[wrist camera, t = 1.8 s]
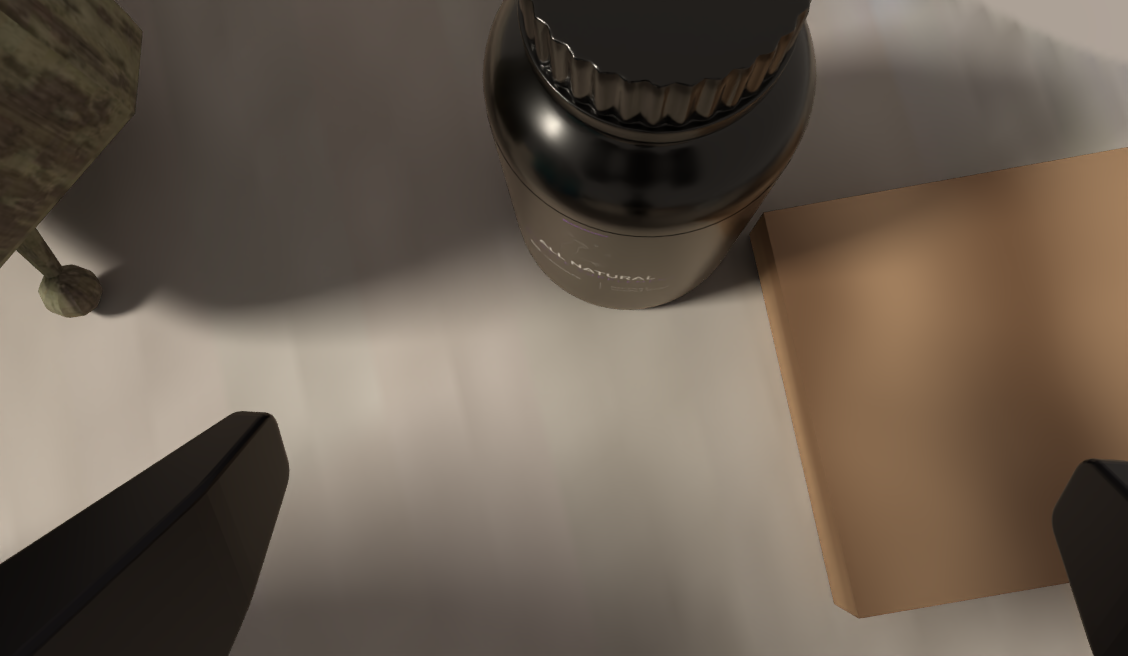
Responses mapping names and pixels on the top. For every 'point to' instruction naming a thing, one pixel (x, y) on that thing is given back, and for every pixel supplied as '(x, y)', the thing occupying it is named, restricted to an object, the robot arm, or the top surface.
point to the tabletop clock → (59, 122)
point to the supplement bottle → (643, 133)
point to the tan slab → (951, 371)
